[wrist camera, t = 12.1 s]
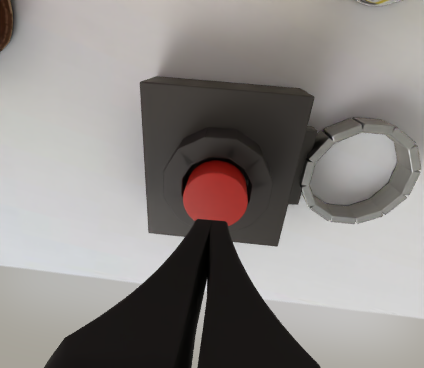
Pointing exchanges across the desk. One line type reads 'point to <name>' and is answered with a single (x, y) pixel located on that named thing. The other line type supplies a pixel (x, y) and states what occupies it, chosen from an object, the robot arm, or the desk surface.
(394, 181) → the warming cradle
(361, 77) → the desk surface
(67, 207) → the desk surface
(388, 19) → the desk surface
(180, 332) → the robot arm
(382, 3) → the supplement bottle
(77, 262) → the desk surface
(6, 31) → the coffee cup
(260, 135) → the power button base
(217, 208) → the power button
